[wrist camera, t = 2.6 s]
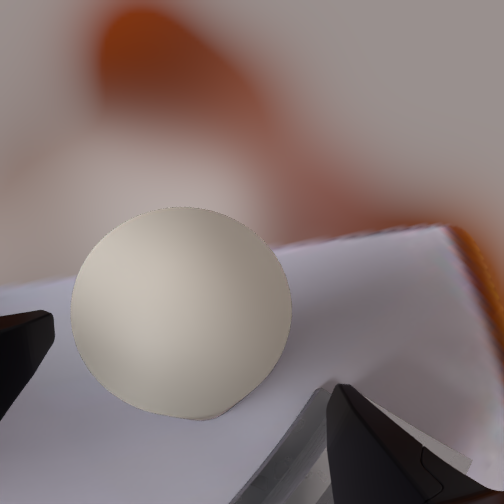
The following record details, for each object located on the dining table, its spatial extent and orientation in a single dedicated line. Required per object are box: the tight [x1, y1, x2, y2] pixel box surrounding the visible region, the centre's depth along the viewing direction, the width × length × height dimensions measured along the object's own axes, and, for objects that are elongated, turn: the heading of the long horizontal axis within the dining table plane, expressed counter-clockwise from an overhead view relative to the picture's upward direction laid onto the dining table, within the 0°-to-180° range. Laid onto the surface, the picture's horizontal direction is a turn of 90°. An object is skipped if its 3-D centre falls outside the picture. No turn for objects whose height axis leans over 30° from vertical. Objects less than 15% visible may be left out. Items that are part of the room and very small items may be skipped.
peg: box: [71, 207, 292, 421], centre depth 11 cm, size 4×4×12 cm
